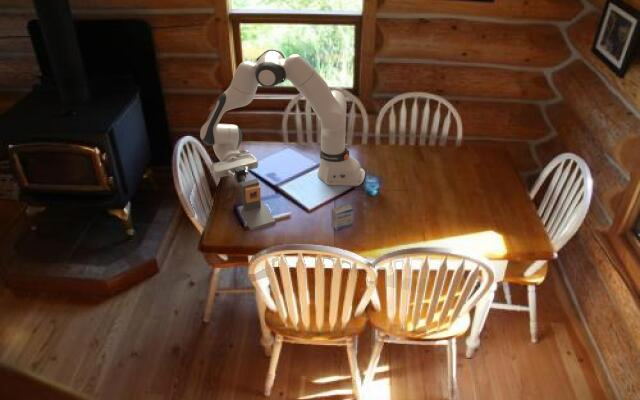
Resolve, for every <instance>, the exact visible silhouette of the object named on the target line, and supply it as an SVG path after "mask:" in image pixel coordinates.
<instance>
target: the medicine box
mask: <svg viewBox="0 0 640 400" xmlns="http://www.w3.org/2000/svg"><path fill="white" fill-rule="evenodd" d="M353 215H354V208H352V206H351V205H350V204H349V203H346V204H342V205H340V206H336V207H333V208H331V216H330V217H331V220H330V221H331V222H330V223H331V224H330V225H331V226H332V228H334V229H335V231H338V230H341V229H344V228H348V227H349V226H350V227H351V226H353V219H354V218H353V217H354V216H353Z"/></svg>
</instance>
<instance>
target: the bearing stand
mask: <svg viewBox="0 0 640 400" xmlns="http://www.w3.org/2000/svg"><path fill="white" fill-rule="evenodd" d="M255 185H259V186H260V182H259V181H258V179H257V178H253V179H250V180H247V181H246V182H240V189H241V190H240V192H241V199H242V205H239V206H237V210H238V209H239V211H240V212H241V214H242V216H243V217H244V219H245V221H246V222H247V224H248V225H247V224H246V225H247V227H248V229H249V230H250V232H252V231H256V230H259V229H262V228H265V227H268V226H273V225H276V223H277V222H276V219H275V218H274V217H273V215H272V213H271V211H269V209H268V208H267V206H266V205H265V203H264V202H263V200H258V201H254V202H250V203H247V202H246V200H245V188H246V187H251V186H255ZM255 195H256V191H255V193H254V194H250V196H255ZM239 211H238V212H239ZM240 212H239V213H240ZM241 214H240V215H241ZM242 216H241V217H242ZM243 217H242V218H243ZM244 219H243V220H244ZM245 221H244V222H245ZM246 222H245V223H246Z"/></svg>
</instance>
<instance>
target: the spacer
mask: <svg viewBox="0 0 640 400" xmlns="http://www.w3.org/2000/svg"><path fill="white" fill-rule="evenodd" d="M255 191H256V195H255V196H250V192H255ZM261 199H262V197H261V186H260V184H259V185H255V186H251V187H246V188H245V200H246V202H247V203H250V202H254V201H258V200H260V201H261Z"/></svg>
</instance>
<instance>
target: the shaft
mask: <svg viewBox="0 0 640 400" xmlns="http://www.w3.org/2000/svg"><path fill="white" fill-rule="evenodd" d="M234 170H235V173H236V175H237V176H236V177H237V178H234V179H235V181H236V182H237V184H240V183H242V182H246V181H248V179H247V175H246V171H245V168H244V167H243V166H240V167H236V168H234ZM254 193H255V192H250V194H254Z"/></svg>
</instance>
